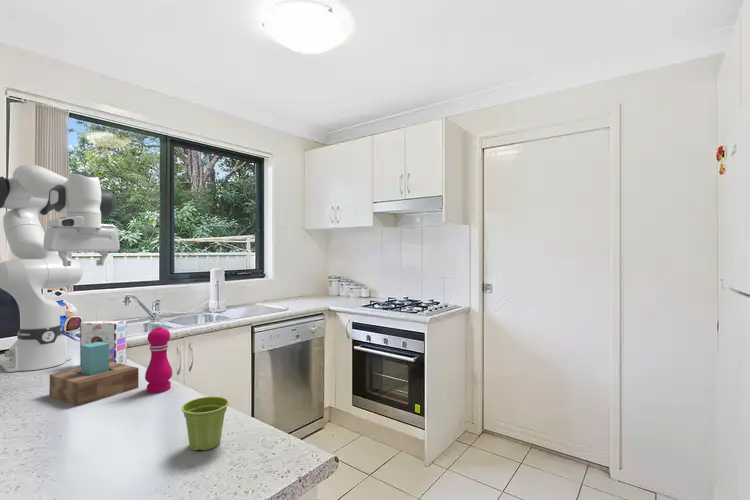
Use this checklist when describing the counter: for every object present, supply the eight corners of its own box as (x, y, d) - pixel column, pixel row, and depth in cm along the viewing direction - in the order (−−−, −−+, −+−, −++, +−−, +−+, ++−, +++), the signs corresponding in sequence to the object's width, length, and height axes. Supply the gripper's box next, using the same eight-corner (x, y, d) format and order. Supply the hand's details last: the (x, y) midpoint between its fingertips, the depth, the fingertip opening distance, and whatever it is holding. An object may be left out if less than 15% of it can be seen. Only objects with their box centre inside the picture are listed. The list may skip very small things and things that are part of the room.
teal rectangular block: (81, 392, 114) (81, 345, 114) (99, 387, 118) (99, 341, 118) (90, 395, 111) (90, 347, 111) (108, 390, 116) (109, 343, 116)
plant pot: (215, 430, 90) (215, 392, 90) (237, 442, 84) (237, 402, 84) (173, 445, 83) (173, 405, 83) (194, 460, 77) (194, 417, 77)
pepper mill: (160, 394, 112) (160, 325, 112) (139, 392, 114) (139, 324, 114) (177, 386, 119) (177, 321, 119) (157, 384, 121) (157, 320, 121)
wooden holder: (49, 395, 111) (49, 374, 111) (109, 379, 126) (109, 361, 126) (78, 405, 104) (78, 383, 104) (138, 387, 118) (138, 367, 118)
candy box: (127, 364, 142) (127, 320, 142) (115, 369, 136) (115, 323, 136) (92, 363, 143) (92, 319, 143) (79, 368, 137) (79, 322, 138)
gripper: (113, 225, 134) (113, 264, 134) (40, 221, 116) (40, 266, 116) (123, 224, 131) (123, 265, 131) (51, 220, 113) (50, 267, 113)
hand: (84, 266), depth 124 cm, fingers open, 8 cm apart
